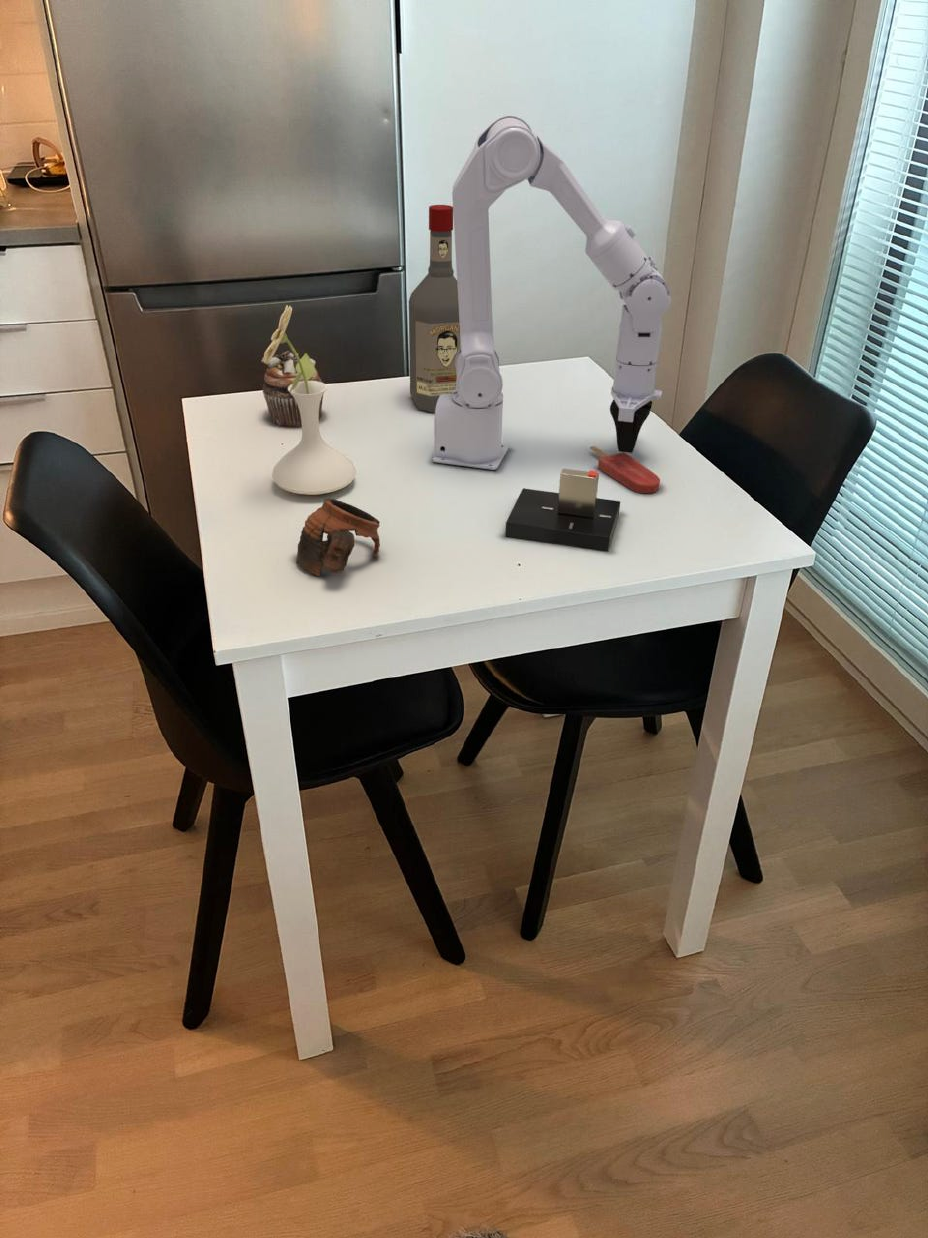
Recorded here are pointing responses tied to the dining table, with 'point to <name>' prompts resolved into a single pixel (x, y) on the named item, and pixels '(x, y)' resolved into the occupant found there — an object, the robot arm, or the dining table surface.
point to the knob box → (561, 521)
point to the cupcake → (284, 389)
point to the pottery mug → (334, 536)
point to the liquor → (435, 318)
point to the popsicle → (628, 471)
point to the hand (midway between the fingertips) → (625, 450)
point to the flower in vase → (308, 433)
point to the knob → (578, 492)
